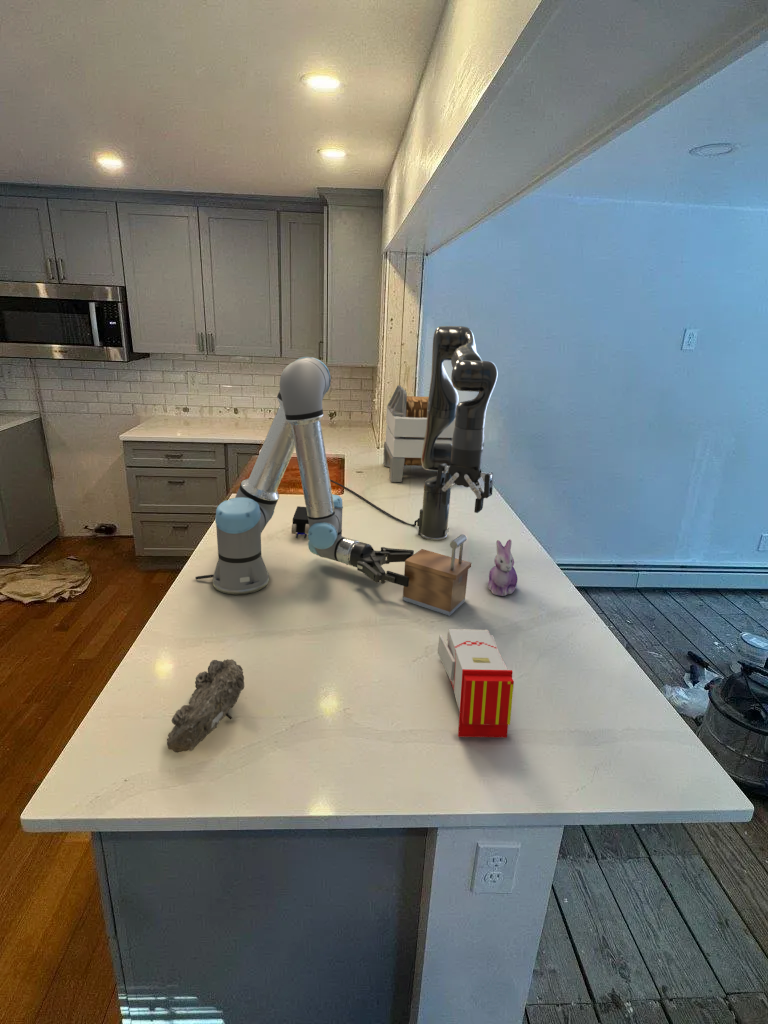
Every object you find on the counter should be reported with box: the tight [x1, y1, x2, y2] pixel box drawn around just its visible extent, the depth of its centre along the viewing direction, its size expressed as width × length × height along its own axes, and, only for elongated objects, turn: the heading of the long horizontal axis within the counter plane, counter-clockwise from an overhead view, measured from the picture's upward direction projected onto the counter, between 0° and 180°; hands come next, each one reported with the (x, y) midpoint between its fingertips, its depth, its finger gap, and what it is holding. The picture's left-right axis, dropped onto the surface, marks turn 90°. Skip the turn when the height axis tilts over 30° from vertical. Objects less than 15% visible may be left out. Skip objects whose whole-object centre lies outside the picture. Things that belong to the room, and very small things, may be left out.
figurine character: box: [291, 505, 309, 539], centre depth 196 cm, size 7×8×15 cm
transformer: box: [383, 384, 460, 483], centre depth 268 cm, size 34×33×41 cm
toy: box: [437, 628, 515, 738], centre depth 117 cm, size 12×13×30 cm
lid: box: [404, 533, 472, 580], centre depth 150 cm, size 15×10×9 cm, turn 58°
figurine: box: [487, 538, 518, 597], centre depth 160 cm, size 9×10×15 cm
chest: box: [402, 564, 469, 617], centre depth 153 cm, size 14×10×11 cm
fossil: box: [166, 658, 245, 754], centre depth 106 cm, size 22×10×15 cm
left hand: (420, 572), depth 156 cm, fingers open, 13 cm apart
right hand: (461, 508), depth 143 cm, fingers open, 8 cm apart
